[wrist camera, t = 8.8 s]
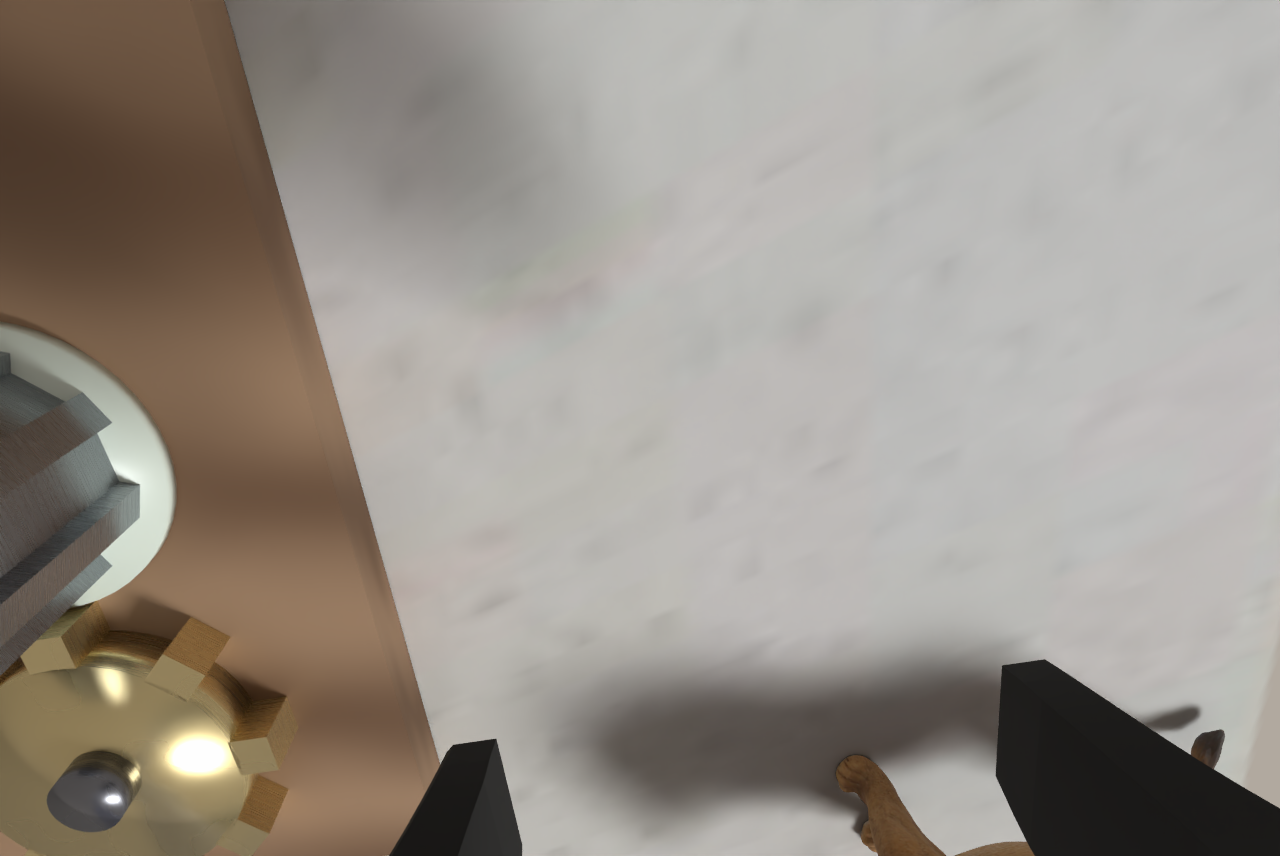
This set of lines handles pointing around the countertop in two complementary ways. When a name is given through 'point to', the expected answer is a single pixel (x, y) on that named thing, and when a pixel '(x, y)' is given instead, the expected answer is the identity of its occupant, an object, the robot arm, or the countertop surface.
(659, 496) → the countertop surface
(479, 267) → the countertop surface
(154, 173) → the gear board
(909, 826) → the lion figurine
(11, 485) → the grey gear
